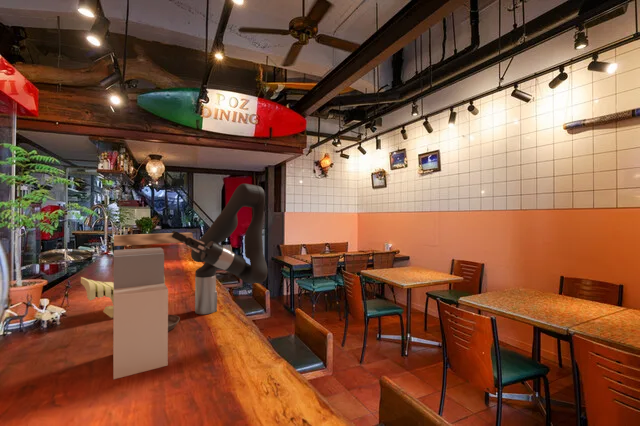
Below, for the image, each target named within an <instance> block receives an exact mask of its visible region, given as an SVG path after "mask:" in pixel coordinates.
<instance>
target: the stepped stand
mask: <svg viewBox="0 0 640 426" xmlns="http://www.w3.org/2000/svg"><path fill="white" fill-rule="evenodd" d="M164 276H165V253H164V249H163V248H162V247H149V248H135V249H134V248H132V249H131V248H130V249H114V250H113V283H114V309H113V318H112V319H113V320H112V321H113V323H112V324H113V331H112V332H113V336H112V337H113V338H112V339H113V340H112V341H113V342H112V345H113V346H112V348H113V350H112V351H113V352H112V354H113V356H112V357H113V360H112V361H113V365H112V368H113V380H116V379H117V380H118V379H120V378H123V377H124V378H125V377H129V376H132V375H136V374H140V373H143V372H144V373H145V372H147V371H151V370H155V369H160V368H163V367H166V366H169V365H168V364H169V363H168V361H169V360H168V359H169V358H168V357H169V356H168V355H169V354H168V353H169V351H168V350H169V349H168V348H169V347H168V346H169V342H168V341H169V331H168V315H169V288H168V286H167V285H166V283H165V284H164Z"/></svg>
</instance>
